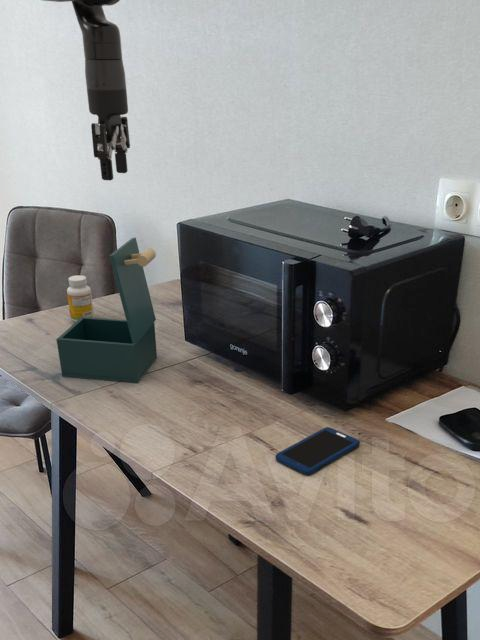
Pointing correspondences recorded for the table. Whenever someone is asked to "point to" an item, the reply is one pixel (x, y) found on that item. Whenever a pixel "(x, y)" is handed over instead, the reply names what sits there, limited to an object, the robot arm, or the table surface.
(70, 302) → the supplement bottle
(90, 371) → the dark green rectangular box
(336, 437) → the cell phone
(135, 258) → the green box lid
